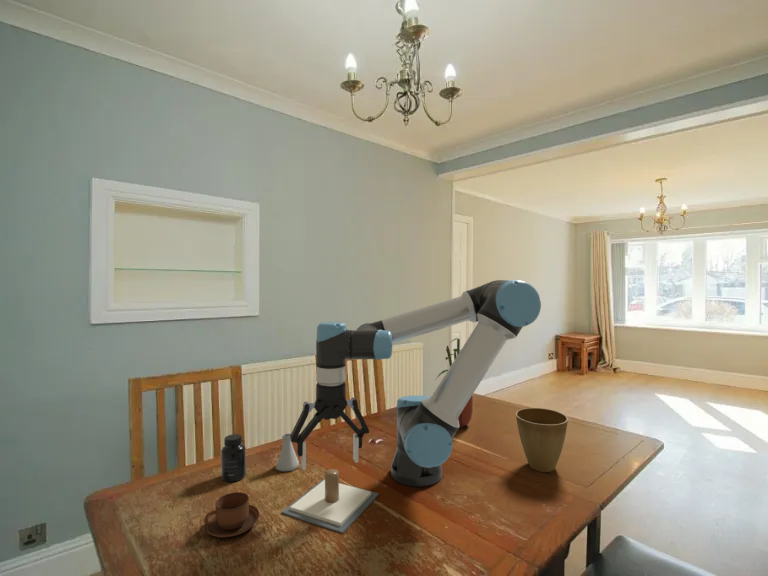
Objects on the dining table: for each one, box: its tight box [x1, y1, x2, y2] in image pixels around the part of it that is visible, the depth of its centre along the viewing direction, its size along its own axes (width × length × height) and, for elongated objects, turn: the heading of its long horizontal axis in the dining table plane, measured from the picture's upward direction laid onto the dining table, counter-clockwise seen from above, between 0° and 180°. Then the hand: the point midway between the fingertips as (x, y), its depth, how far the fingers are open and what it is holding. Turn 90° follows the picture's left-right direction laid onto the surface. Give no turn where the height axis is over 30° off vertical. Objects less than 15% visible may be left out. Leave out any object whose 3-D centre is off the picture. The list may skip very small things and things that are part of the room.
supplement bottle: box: [220, 433, 247, 483], centre depth 115 cm, size 7×7×12 cm
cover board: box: [290, 468, 371, 526], centre depth 101 cm, size 15×15×8 cm
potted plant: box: [435, 337, 474, 428], centre depth 158 cm, size 17×16×35 cm
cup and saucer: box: [203, 491, 260, 538], centre depth 92 cm, size 12×12×6 cm
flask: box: [275, 432, 300, 472], centre depth 122 cm, size 7×7×10 cm
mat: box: [281, 478, 380, 534], centre depth 101 cm, size 18×18×1 cm
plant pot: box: [515, 407, 569, 473], centre depth 121 cm, size 15×15×16 cm
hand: (330, 464), depth 101 cm, fingers open, 13 cm apart
